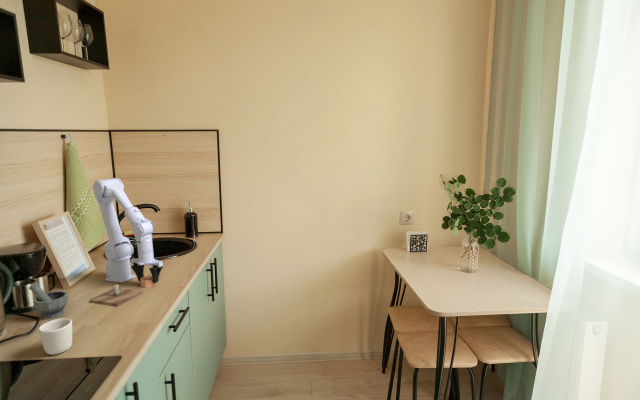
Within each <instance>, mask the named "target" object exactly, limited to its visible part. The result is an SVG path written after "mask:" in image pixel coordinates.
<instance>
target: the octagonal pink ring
mask: <svg viewBox="0 0 640 400" xmlns="http://www.w3.org/2000/svg"><path fill="white" fill-rule="evenodd" d="M140 279H141V281H140V287H141V288H145V289H146V288H152V287H154V286H156V285H157V283H153V279H152V274H150V275H144V277H142V278H140Z"/></svg>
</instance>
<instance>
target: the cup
mask: <svg viewBox="0 0 640 400" xmlns="http://www.w3.org/2000/svg"><path fill="white" fill-rule="evenodd" d="M38 333H39V337H40V340H41V343H42V348H43V350H44V352H45V353H46V354H47V355H59V354H61V353H64V352H66V351H68V350H69V349H70V348H71V347H72V344H73V320H72V319H71V318H67V317H66V318H65V317H64V318H62V317H61V318H55V319H51V320H49V321H47V322H44V323H43V324H42V325H40V326H39V328H38Z"/></svg>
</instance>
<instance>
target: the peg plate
mask: <svg viewBox="0 0 640 400" xmlns="http://www.w3.org/2000/svg"><path fill="white" fill-rule="evenodd" d="M119 285H120V284H117V283H115V284H113V285H112V289H109V290H107V291H105V292H103V293H101V294H98V295H96V296H94V297H93V298H91V299H89V301H90V303H96V304H99V305H106V306H112V307H113V306H114V307H119V306H121V305H123V304H125V303H127V302H128V301H130V300H132V299H134V298H136V297H138V296H140V295H141V294H143V291H142V290H138V289H130V288H125V287H124V288H123V287H119Z"/></svg>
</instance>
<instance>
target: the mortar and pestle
mask: <svg viewBox="0 0 640 400" xmlns="http://www.w3.org/2000/svg"><path fill="white" fill-rule="evenodd" d="M28 289H29V290H30V291H31V292H32V293H33V294H34V296H35V298H34V299H33V305H34V306H33V307H34V309H35V310H36V311H37V312H38V313H41V314H42V319H44V320H54V319H58V318H60V317H62V316H63V315H64V314H65V310H64V309H65V308H66V305H67V303H68V302H69V292H68V291H65V290H56V291H55V290H54V291H49V292H45V291H44V290H43V289H42V288H41V287H40V284H39V283H38V282H35V283H32V284H31V285H30V286H29V287H28Z"/></svg>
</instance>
